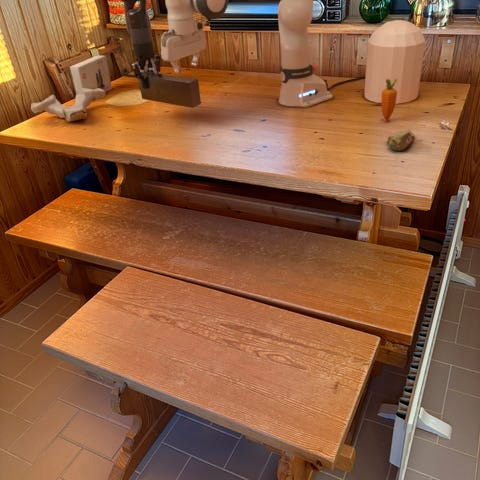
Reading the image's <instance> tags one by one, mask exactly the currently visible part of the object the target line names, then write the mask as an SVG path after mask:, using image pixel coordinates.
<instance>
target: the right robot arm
mask: <svg viewBox="0 0 480 480" xmlns="http://www.w3.org/2000/svg"><path fill="white" fill-rule="evenodd" d="M164 2H165V7H166V9H167V25H168V31H164V32H163V34H162V35H161V37H160V54H161V55H160V56H161V59H162V60H163V61H164V62H167V63H170V64H171V66H172V67H173V70H174V74H175V73H176V74H178V73H181V72H182V70H181V69H182V68H181V66H179V64H178V63H179V61H178V60H180V59H183V58H186V57H189V56H193V57H192V60H191V66H192V67H197V66H199V57H200V52H203V51H205V50H206V47H207V39H206V33H205V30H204V29H205V23H204V22H202V21H198V20H194V19H195V17H194V14H200V15H202V17H204V19H205V18H206V19H207V20H217V19H219V18H221V17H222V16H223V15H224V14H225V13H226V11H227V9H228V5H229V2H230V0H164ZM313 10H314V0H280V1H279V3H278V6H277V20H278V32H279V42H280V67H279V68H280V71H279V72H280V73H279V74H280V75H279V76H280V93H279V98H278V100H277V101H278V103H279V104H280V105H282V106H286V107H302V108H308V107H311V106H314V105H317V104H320V103H323V102H325V101H328V100H331V99H333V97H334V96H333V94H332V93H331V92H330V90H332V89H333V88H334V87H336V86H338V85H341V84H344V83H349V82H352V81H353V82H354V81H358V80H362V79H363V80H364V79H365V76H360V77H356V78H351V79H347V80H342V81H339V82H336V83H334V84H332V85H331V86H330V87H329V84H328V80H327V79H323V78H320V77H319V76H318V75H317V74H315V73H314V72H318V70H319V66H317V65H315V64H311V63H310V40H309V31H308V27H309V26H310V25H311V23H312V20H313Z"/></svg>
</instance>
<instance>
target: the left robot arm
mask: <svg viewBox="0 0 480 480" xmlns="http://www.w3.org/2000/svg"><path fill="white" fill-rule="evenodd" d="M120 1H121V2H122V3H123V10H124V21H125V27H126V30H127V33H128V35H129V36H130V40H131V45H132V49H133V54H134V55H135V62H133V63H131V64H130V67H131V70H132V72H133V74H130V73H126V72H127V68H123V69H122V75H123V76H126V77H132V78H136V79H137V80H138V79H141V82H142V87H143V88H144V89H148V83H147V79H146V73H147V72H151V73H158V74H160V72H161V55H157V54H156V50H155V45H154V39H153V32H152V25H151V18H150V16H149V13H148V9H147V6H148V0H120ZM138 2H139V5H138V6H137V7H135V6H136V4H137V3H138Z"/></svg>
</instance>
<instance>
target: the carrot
mask: <svg viewBox="0 0 480 480" xmlns="http://www.w3.org/2000/svg"><path fill="white" fill-rule="evenodd" d="M396 81H397V79H395V80H394V82H393V84H391V82H390V79H386V83H387V85H386V87H387V88H386V89H384V90H383V91H382V98H381V103H380V104H381V112H382V113H381V114H382V117H383V119H384V120H385V121H386V122H388V121H389V119H390V118H391V117H392V114H393V112H394V109H395V106H396V104H395V102H396V95H397V91H396V90H395V89H394V88H393V86H394V84H395V83H396ZM389 85H390V86H389ZM391 85H392V86H391Z"/></svg>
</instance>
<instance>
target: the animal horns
mask: <svg viewBox="0 0 480 480" xmlns="http://www.w3.org/2000/svg"><path fill="white" fill-rule="evenodd" d="M81 91H82V94H79V95H77V94H76V95H75V103H74V104H73V105H69V106H65V105H63V104H62V103H61V102H60V101H59V100H58V99H57V98H56V97H57V96H56V95H55V94H51V95H49V96H48V97H47V98H45V99H43V100H42V101H39V102H31V105H30V110H31V112H32V113H34V114H37V113H42V112H43V111H44V112H47V113H48V114H50V115H56V116H58V117H59V118H60V119H63V118H64V119H65V120H66V121H67V122H68V123H70V122H76V121H80V120H83V119H86V118H87V117H88V112H87V108H88V107H89V106H90V105H91V103H92V101H93V100H95V99H103V98H105V97H106V95H107V92H105V90H102V89H99V88H98V89H95V90H94V89H87V88H82V90H81Z"/></svg>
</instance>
